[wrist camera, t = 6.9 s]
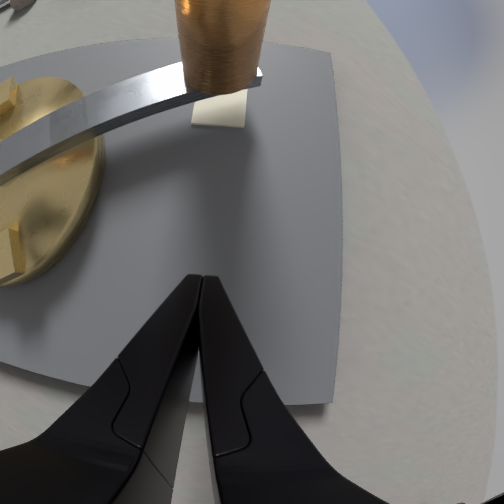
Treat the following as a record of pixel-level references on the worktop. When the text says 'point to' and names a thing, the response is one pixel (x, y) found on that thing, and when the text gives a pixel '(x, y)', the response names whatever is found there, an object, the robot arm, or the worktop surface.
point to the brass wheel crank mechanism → (104, 129)
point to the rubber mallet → (18, 3)
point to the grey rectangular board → (198, 221)
